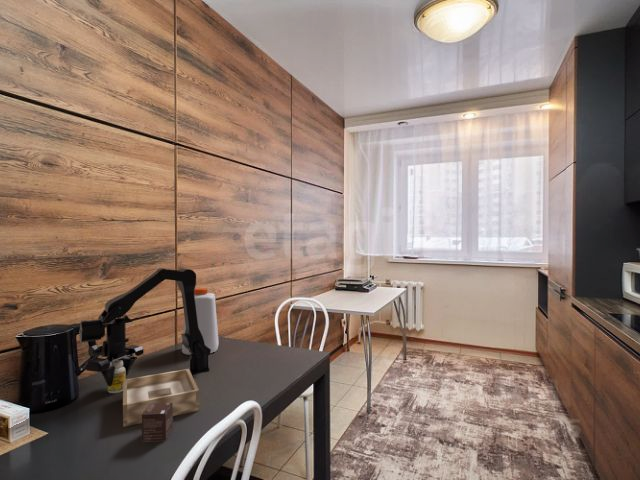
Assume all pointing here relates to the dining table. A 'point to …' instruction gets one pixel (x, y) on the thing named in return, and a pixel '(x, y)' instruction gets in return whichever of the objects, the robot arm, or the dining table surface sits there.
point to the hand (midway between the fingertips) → (116, 382)
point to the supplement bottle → (117, 377)
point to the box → (157, 422)
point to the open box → (159, 394)
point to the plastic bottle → (205, 319)
